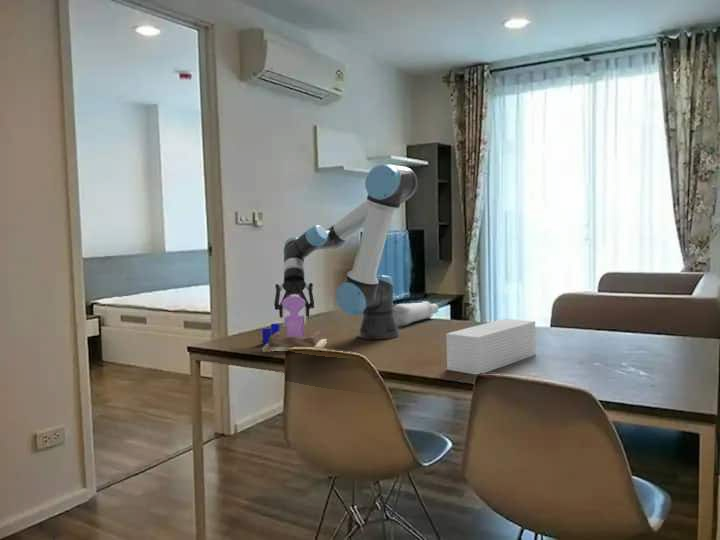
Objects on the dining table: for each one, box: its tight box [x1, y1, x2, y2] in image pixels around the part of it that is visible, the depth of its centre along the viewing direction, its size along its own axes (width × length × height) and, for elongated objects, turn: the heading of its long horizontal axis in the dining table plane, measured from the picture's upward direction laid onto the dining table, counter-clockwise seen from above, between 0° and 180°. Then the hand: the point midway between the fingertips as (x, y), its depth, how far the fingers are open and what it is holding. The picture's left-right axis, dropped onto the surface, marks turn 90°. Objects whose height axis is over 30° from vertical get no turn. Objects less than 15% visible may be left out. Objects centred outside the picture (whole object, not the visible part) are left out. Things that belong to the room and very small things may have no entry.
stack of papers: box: [445, 318, 537, 376], centre depth 188 cm, size 32×11×11 cm, turn 136°
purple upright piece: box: [281, 295, 307, 338], centre depth 220 cm, size 8×9×15 cm
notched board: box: [262, 330, 328, 353], centre depth 219 cm, size 20×14×4 cm
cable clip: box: [261, 323, 281, 346], centre depth 232 cm, size 12×4×6 cm, turn 171°
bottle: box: [393, 300, 440, 327], centre depth 267 cm, size 9×9×30 cm
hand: (294, 323), depth 217 cm, fingers closed on purple upright piece, 7 cm apart
